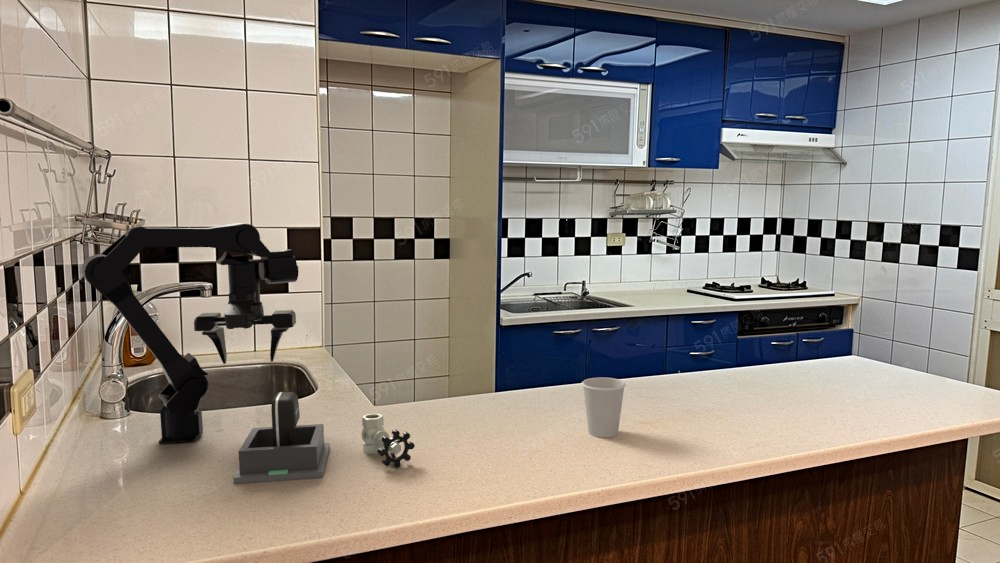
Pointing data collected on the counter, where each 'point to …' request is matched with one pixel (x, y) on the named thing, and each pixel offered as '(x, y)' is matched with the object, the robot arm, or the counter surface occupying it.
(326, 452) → the dock
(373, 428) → the valve
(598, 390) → the dixie cup
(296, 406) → the battery charger
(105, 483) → the counter surface
